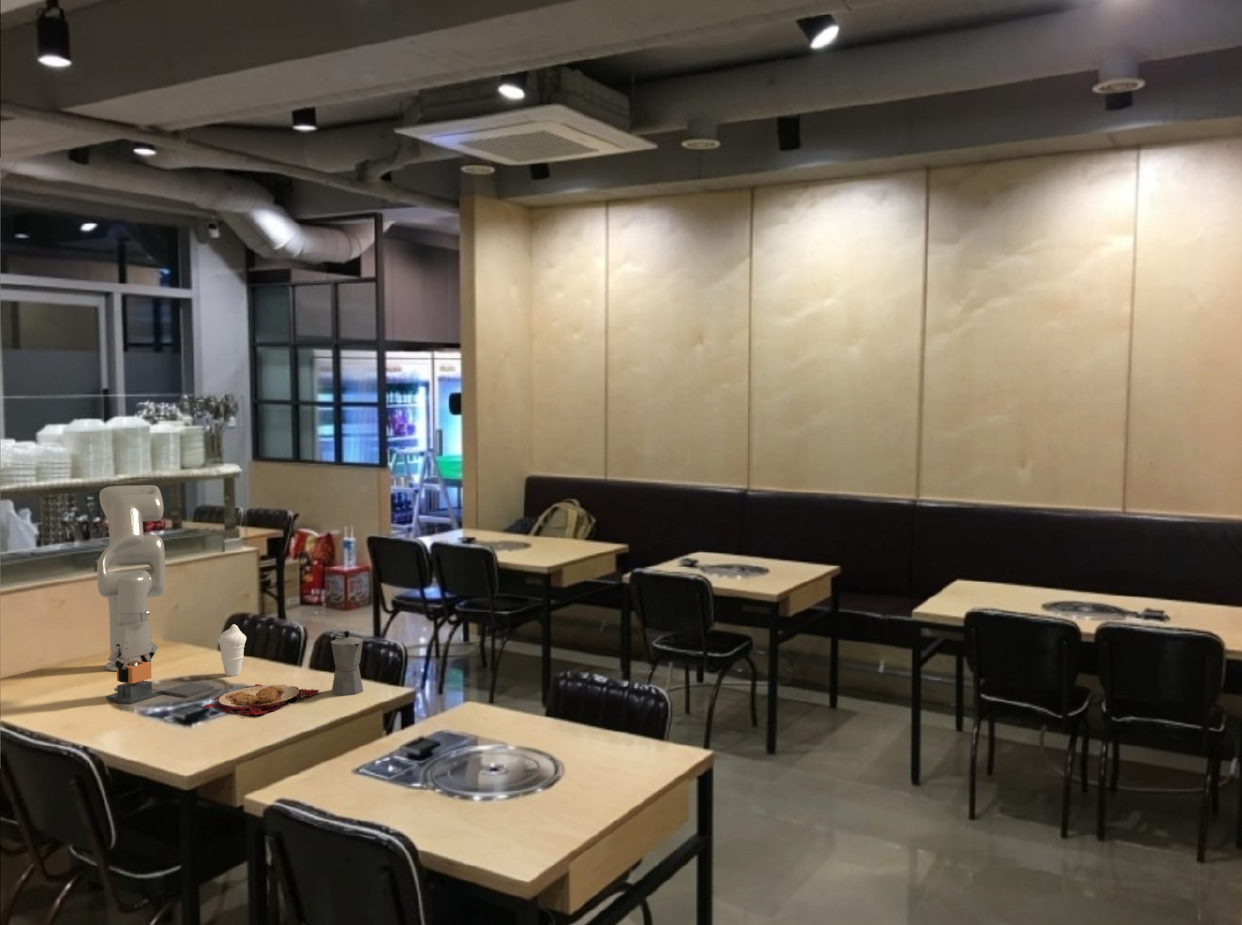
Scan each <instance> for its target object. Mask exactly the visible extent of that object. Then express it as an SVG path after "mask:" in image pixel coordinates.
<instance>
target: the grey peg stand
mask: <svg viewBox="0 0 1242 925" xmlns="http://www.w3.org/2000/svg"><path fill="white" fill-rule="evenodd" d="M136 665H138V662H132V663H130V666H136ZM113 691H115V693H111V694H108V695H105V701H110V702H116V703H120V704H121V703H122V704H123V703H124V704H127V705H132V704H136V703H139V702H141V701H142V702H143V701H145V700H149V699H152V698H155V697H159V696H161V695H164V694H163V690H162V689H157V688H153V686H152V681H149V680H143V681H140V682H136V683H133V684H132V683H124V682H123V683H121V684H118V685H116V687H114V689H113Z"/></svg>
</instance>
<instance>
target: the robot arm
mask: <svg viewBox="0 0 1242 925" xmlns="http://www.w3.org/2000/svg"><path fill="white" fill-rule="evenodd" d="M162 496H163V495H162V493H161V490H160V488H159V487H158V486H157V485H152V484H149V485H147V484H145V485H139V484H138V485H114V486H107V487H104V488H102V489H101V490H100V491H99V502H100V506H101V509H102V511H103V513H104V515H105V517H106V519H107V522H108V528H109V530H108V532H109V533H108V535H109V544H108V546H107V547H106V548H105V549H104V550H103V552H102V553H101V555H100V556H99V559H98V562H97V566H96V568H97V569H96V570H97V571H96V574H97V575H96V576H97V578H96V580H97V590H98V594H99V595H100V596H101V597H103V598H106V599H107V602H108V610H109V611H108V614H109V646H110V647H109V649H110V651H109V652H110V653H109V654H110V656H109V657H108V659H107V660H108V663H106V664H105V669H106V670H107V671H114V672H115V671H116V672H117V668H118V675H119V681H118V683H123V684H124V683H127V682H128V669H126V667H127V664H128V662H131V661H135V660H137V661H143V662H149V663H152V659H153V657H154V656H155V655H156V652H157V650H158V648H159V646H157V645H156V643H154V642H153V638H152V637H153V636H152V629H151V624H150V621H149V619H148V616H150V610H148V598H156V597H160V596H162V595H164V593H165V590H166V552H165V544H164V541H163V539H162V537H161V536H159V535H157V534H156V535H155V534H148V535H147V534H146V535H144V525H143V524H144V523H143V522H157V521H160V520H161V519H162V518H163V515H164V510H165V508H164V500H163V497H162ZM110 563H112V564H113V565H115V566H119V567H120V566H121V567H126V566H127V567H128V566H129V567H130V566H143V565H144V566H145V565H146V566H149V567H148V568H147V567H145V568H131V569H130V568H129V569H128V568H127V569H118V570H115V571H108V566H109V565H110Z"/></svg>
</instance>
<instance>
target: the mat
mask: <svg viewBox="0 0 1242 925" xmlns="http://www.w3.org/2000/svg"><path fill="white" fill-rule="evenodd" d="M210 689H212V690H215V686H213V685H207V684H202V683H201V684H200V683H193V682H187V683H184V684H181V685H177V686H174V687H171V688H167V689H164V690H163V695H168V696H176V697H181V698H189V697H192V696H196V695H199V694H203V693H205V691H206V692H209V691H211V690H210ZM208 690H209V691H208ZM202 692H203V693H202Z"/></svg>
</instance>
